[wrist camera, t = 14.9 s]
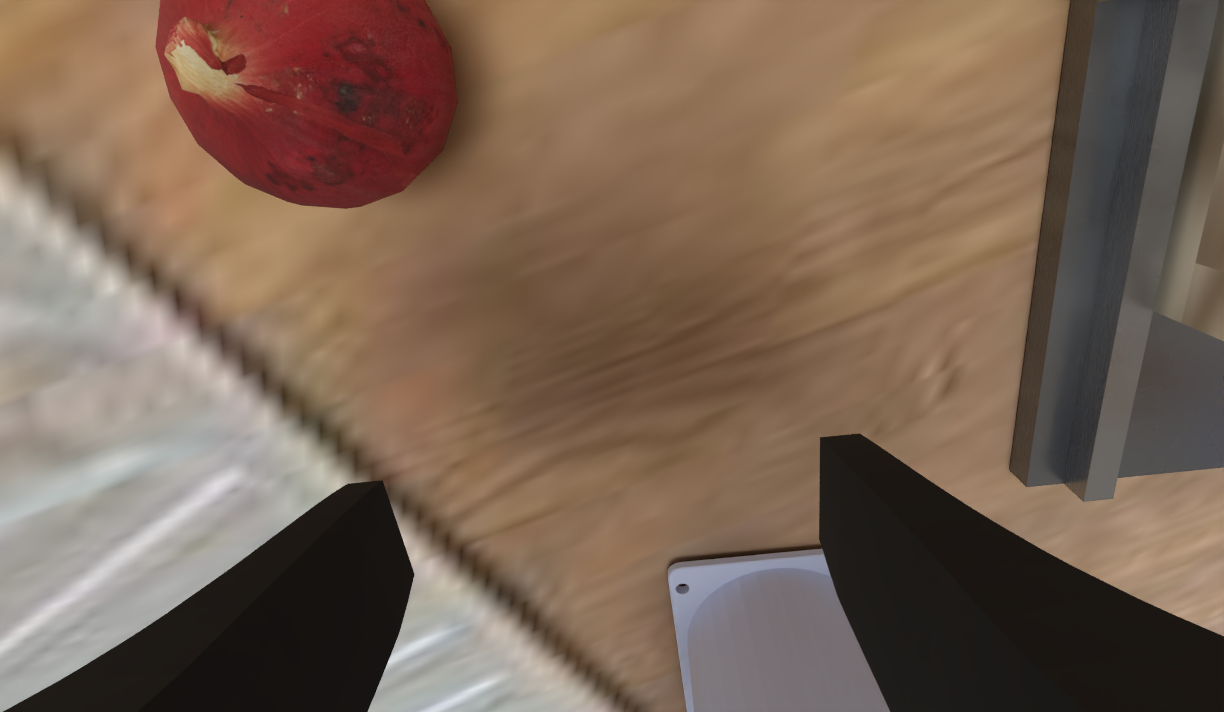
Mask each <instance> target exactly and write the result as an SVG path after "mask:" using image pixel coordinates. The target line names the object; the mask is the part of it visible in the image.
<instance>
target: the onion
mask: <svg viewBox="0 0 1224 712" xmlns="http://www.w3.org/2000/svg"><path fill="white" fill-rule="evenodd" d="M156 50H157V53H158V57H159V60H160V64H161V67H162V71H163V74H164V78H165V81H166V85H167V88H168V92H169V95H170V98H171V100H172V102H173V103H174V105H175V107H176V108H177V110H178V112H179V113H180V115H181V117H182V118H183V120H184V122H185V123H186V125H187V127H188V128H189V130H190V132H191V133H192V135H193V137H194V139H195V140H196V142H197V144H198V145H199V146H201V147H202V148H203V149H204V150H205V151H206V152H207V153H209V154H210V155H211V156H212V157H213V158H214V159H216V160H217V161H218V162H219V163H220V164H221V165H222V166H224V167H225V168H226V169H227V170H228V171H229V172H230V173H232V174H233V175H234V176H235V177H236V178H238V179H239V180H240V181H242V182H243V183H244V184H246V185H248V186H251V187H253V188H256V189H258V190H261V191H263V192H265V193H268V194H270V195H273V196H275V197H277V198H280V199H282V200H285V201H287V202H291V203H295V204H299V205H305V206H318V207H332V208H345V209H346V208H354V207H361V206H364V205H366V204H369V203H372V202H374V201H377V200H380V199H383V198H385V197H388V196H391V195H393V194H396V193H399V192H401V191H403V190H404V189H405V188H406V187H407V186H408V185H409V184H410V183H411V182H412V181H413V180H414V179H415V178H416V177H417V176H418V175H419V174H420V173H421V172H422V171H423V170H424V169H425V168H426V167H427V166H428V165H429V164H430V163H431V162H432V161H433V160H434V159H435V158H436V157H437V156H438V155H439V154H440V153H441V152H442V151H443V149H444V145H445V142H446V139H447V136H448V132H449V129H450V126H451V123H452V119H453V116H454V113H455V110H456V107H457V103H458V100H457V92H456V84H455V76H454V68H453V60H452V52H451V47H450V45H449V43H448V41H447V40H446V38H445V36H444V34H443V32H442V30H441V29H440V27H439V25H438V23H437V21H436V19H435V18H434V16H433V14H432V12H431V10H430V9H429V7H428V5H427V3H426V1H425V0H160V9H159V19H158V28H157V38H156Z"/></svg>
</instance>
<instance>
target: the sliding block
mask: <svg viewBox="0 0 1224 712" xmlns="http://www.w3.org/2000/svg"><path fill="white" fill-rule="evenodd" d="M1153 311H1154V312H1156V313H1159V314H1161V315H1164V316H1166V317H1168V318H1171V319H1173V320H1175V321H1178V322H1180V323H1182V324H1185V325H1187V326H1189V327H1192V328H1194V329H1196V330H1199V331H1201V332H1203V333H1206V334H1208V335H1210V336H1213V337H1215V338H1217V339H1220V340H1222V341H1224V0H1220V2H1219V6H1218V11H1217V15H1216V20H1215V25H1214V29H1213V34H1212V39H1211V43H1210V48H1209V53H1208V57H1207V62H1206V67H1205V71H1204V76H1203V81H1202V85H1201V90H1200V95H1199V99H1198V104H1197V109H1196V113H1195V118H1194V123H1193V127H1192V132H1191V137H1190V141H1189V146H1188V151H1187V155H1186V160H1185V165H1184V169H1183V174H1182V179H1181V183H1180V188H1179V193H1178V197H1177V202H1176V207H1175V211H1174V216H1173V221H1172V225H1171V230H1170V235H1169V239H1168V244H1167V249H1166V253H1165V258H1164V263H1163V267H1162V272H1161V277H1160V281H1159V286H1158V291H1157V295H1156V300H1155V305H1154V309H1153Z"/></svg>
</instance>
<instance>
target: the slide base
mask: <svg viewBox="0 0 1224 712" xmlns="http://www.w3.org/2000/svg"><path fill="white" fill-rule="evenodd" d="M1219 2H1220V0H1071V6H1070V14H1069V21H1068V29H1067V36H1066V44H1065V52H1064V59H1063V67H1062V75H1061V82H1060V90H1059V98H1058V105H1057V113H1056V120H1055V128H1054V136H1053V143H1052V151H1051V159H1050V166H1049V174H1048V182H1047V189H1046V197H1045V204H1044V212H1043V220H1042V227H1041V235H1040V243H1039V250H1038V258H1037V266H1036V273H1035V281H1034V288H1033V296H1032V304H1031V311H1030V319H1029V327H1028V334H1027V342H1026V350H1025V357H1024V365H1023V372H1022V380H1021V388H1020V395H1019V403H1018V411H1017V418H1016V426H1015V434H1014V441H1013V449H1012V456H1011V464H1010V471H1011V472H1012V473H1013V474H1014V475H1015V476H1016V477H1017V478H1018V479H1019V480H1020V481H1021V482H1022V483H1023V484H1024V485H1025V486H1026V487H1032V486H1042V485H1052V484H1062V483H1064V484H1065V485H1066V486H1067V487H1068V488H1069V489H1070V490H1071V491H1072V492H1073V493H1075V494H1076V495H1077V496H1078V497H1079V498H1080V499H1081V500H1082V501H1083V502H1085V501H1095V500H1105V499H1113V496H1114V491H1115V487H1116V482H1117V478H1122V477H1132V476H1142V475H1152V474H1162V473H1172V472H1182V471H1192V470H1202V469H1212V468H1222V467H1224V341H1222V340H1220V339H1217V338H1215V337H1213V336H1210V335H1208V334H1206V333H1203V332H1201V331H1199V330H1196V329H1194V328H1192V327H1189V326H1187V325H1185V324H1182V323H1180V322H1178V321H1175V320H1173V319H1171V318H1168V317H1166V316H1164V315H1161V314H1159V313H1156V312H1154V311H1153V309H1154V305H1155V300H1156V295H1157V291H1158V286H1159V281H1160V277H1161V272H1162V267H1163V263H1164V258H1165V253H1166V249H1167V244H1168V239H1169V235H1170V230H1171V225H1172V221H1173V216H1174V211H1175V207H1176V202H1177V197H1178V193H1179V188H1180V183H1181V179H1182V174H1183V169H1184V165H1185V160H1186V155H1187V151H1188V146H1189V141H1190V137H1191V132H1192V127H1193V123H1194V118H1195V113H1196V109H1197V104H1198V99H1199V95H1200V90H1201V85H1202V81H1203V76H1204V71H1205V67H1206V62H1207V57H1208V53H1209V48H1210V43H1211V39H1212V34H1213V29H1214V25H1215V20H1216V15H1217V11H1218V6H1219Z"/></svg>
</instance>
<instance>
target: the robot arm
mask: <svg viewBox="0 0 1224 712" xmlns="http://www.w3.org/2000/svg"><path fill="white" fill-rule="evenodd" d="M819 540H820V543H821V546H822V549H813V550H803V551H792V552H781V553H771V554H760V555H750V556H739V557H729V558H718V559H708V560H697V561H687V562H678V563H674V564H673V565H671V566H670V567H669V569H668V582H669V589H670V596H671V603H672V610H673V617H674V625H675V632H676V639H677V646H678V653H679V660H680V667H681V674H682V681H683V688H684V695H685V702H686V709H687V712H1224V636H1221V635H1219V634H1217V633H1214V632H1212V631H1210V630H1207V629H1205V628H1203V627H1200V626H1198V625H1196V624H1193V623H1191V622H1189V621H1187V620H1184V619H1182V618H1180V617H1177V616H1175V615H1173V614H1170V613H1168V612H1166V611H1164V610H1162V609H1160V608H1157V607H1155V606H1153V605H1151V604H1149V603H1146V602H1144V601H1142V600H1140V599H1138V598H1136V597H1134V596H1131V595H1129V594H1127V593H1125V592H1123V591H1121V590H1119V589H1117V588H1115V587H1113V586H1111V585H1109V584H1107V583H1105V582H1103V581H1101V580H1099V579H1097V578H1095V577H1093V576H1091V575H1089V574H1087V573H1085V572H1083V571H1081V570H1079V569H1077V568H1075V567H1073V566H1071V565H1069V564H1068V563H1066V562H1064V561H1062V560H1060V559H1058V558H1056V557H1055V556H1053V555H1051V554H1049V553H1047V552H1045V551H1043V550H1042V549H1040V548H1038V547H1036V546H1035V545H1033V544H1031V543H1029V542H1028V541H1026V540H1024V539H1023V538H1021V537H1019V536H1017V535H1016V534H1014V533H1012V532H1010V531H1009V530H1007V529H1005V528H1004V527H1002V526H1000V525H998V524H997V523H995V522H993V521H992V520H990V519H988V518H987V517H985V516H984V515H982V514H980V513H979V512H977V511H975V510H974V509H972V508H971V507H969V506H968V505H966V504H964V503H963V502H961V501H960V500H958V499H957V498H955V497H953V496H952V495H950V494H949V493H947V492H946V491H944V490H943V489H941V488H940V487H938V486H937V485H935V484H934V483H932V482H931V481H929V480H928V479H926V478H925V477H923V476H922V475H920V474H919V473H917V472H916V471H914V470H913V469H911V468H910V467H909V466H907V465H906V464H904V463H903V462H901V461H900V460H898V459H897V458H895V457H894V456H893V455H891V454H890V453H888V452H887V451H885V450H884V449H882V448H881V447H879V446H878V445H876V444H875V443H873V442H872V441H870V440H869V439H867V438H866V437H864V436H863V435H861V434H851V435H840V436H830V437H820V514H819ZM413 578H414V572H413V569H412V566H411V563H410V560H409V557H408V554H407V551H406V548H405V545H404V542H403V539H402V536H401V533H400V530H399V528H398V525H397V522H396V519H395V516H394V513H393V510H392V507H391V504H390V501H389V498H388V495H387V492H386V489H385V486H384V483H383V480H382V481H372V482H362V483H352V484H347V485H345V486H343V487H342V488H340V489H339V490H337V491H335V492H334V493H332V494H331V495H329V496H328V497H327V498H325V499H324V500H322V501H321V502H320V503H318V504H317V505H315V506H314V507H313V508H311V509H310V510H309V511H307V512H306V513H304V514H303V515H302V516H300V517H299V518H298V519H296V520H295V521H294V522H292V523H291V524H290V525H288V526H287V527H286V528H284V529H283V530H282V531H280V532H279V533H278V534H276V535H275V536H274V537H272V538H271V539H270V540H268V541H267V542H266V543H264V544H263V545H262V546H260V547H259V548H258V549H256V550H255V551H254V552H252V553H251V554H250V555H248V556H247V557H246V558H244V559H243V560H242V561H240V562H239V563H238V564H236V565H235V566H233V567H232V568H231V569H229V570H228V571H226V572H225V573H224V574H222V575H221V576H219V577H218V578H217V579H215V580H214V581H212V582H211V583H209V584H208V585H207V586H205V587H204V588H202V589H201V590H199V591H198V592H197V593H195V594H194V595H192V596H191V597H189V598H188V599H187V600H185V601H184V602H182V603H181V604H180V605H178V606H177V607H175V608H174V609H172V610H171V611H170V612H168V613H167V614H165V615H164V616H162V617H161V618H159V619H158V620H156V621H155V622H153V623H152V624H150V625H149V626H147V627H146V628H144V629H143V630H141V631H140V632H138V633H136V634H135V635H133V636H132V637H130V638H129V639H127V640H126V641H124V642H122V643H121V644H119V645H118V646H116V647H114V648H113V649H111V650H109V651H108V652H106V653H104V654H103V655H101V656H100V657H98V658H96V659H95V660H93V661H91V662H90V663H88V664H87V665H85V666H83V667H82V668H80V669H78V670H77V671H75V672H73V673H72V674H70V675H68V676H67V677H65V678H63V679H61V680H60V681H58V682H56V683H54V684H53V685H51V686H49V687H47V688H45V689H44V690H42V691H40V692H38V693H36V694H34V695H33V696H31V697H29V698H27V699H25V700H24V701H22V702H20V703H18V704H16V705H15V706H13V707H11V708H9V709H7V710H5V711H4V712H368V709H369V707H370V704H371V702H372V699H373V697H374V695H375V692H376V690H377V687H378V685H379V682H380V680H381V677H382V675H383V672H384V670H385V667H386V665H387V662H388V660H389V658H390V655H391V653H392V650H393V648H394V645H395V642H396V640H397V637H398V635H399V632H400V628H401V625H402V621H403V617H404V614H405V610H406V607H407V603H408V599H409V594H410V590H411V586H412V582H413ZM679 584H686V586H683V587H682V586H678V585H679Z"/></svg>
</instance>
